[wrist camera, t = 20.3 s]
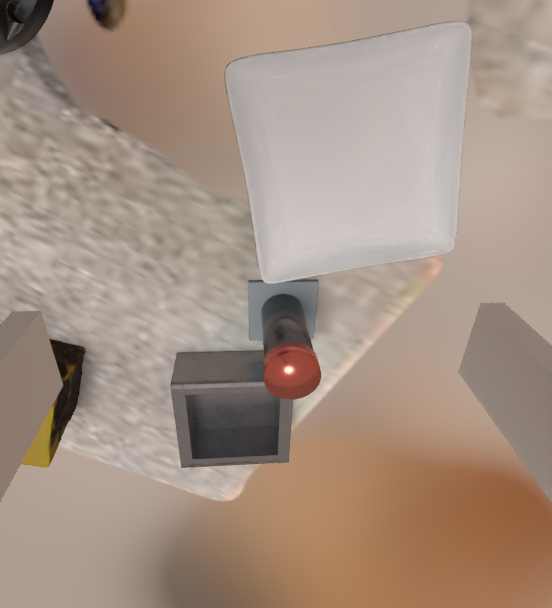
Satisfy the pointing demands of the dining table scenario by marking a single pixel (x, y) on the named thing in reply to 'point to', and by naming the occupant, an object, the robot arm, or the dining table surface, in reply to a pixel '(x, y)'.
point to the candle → (58, 405)
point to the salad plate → (353, 149)
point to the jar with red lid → (288, 349)
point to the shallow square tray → (228, 411)
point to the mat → (263, 291)
